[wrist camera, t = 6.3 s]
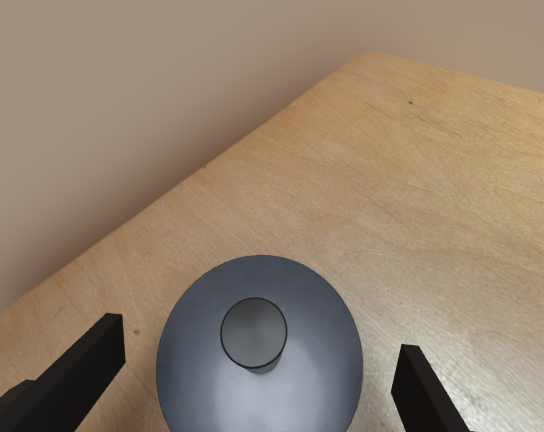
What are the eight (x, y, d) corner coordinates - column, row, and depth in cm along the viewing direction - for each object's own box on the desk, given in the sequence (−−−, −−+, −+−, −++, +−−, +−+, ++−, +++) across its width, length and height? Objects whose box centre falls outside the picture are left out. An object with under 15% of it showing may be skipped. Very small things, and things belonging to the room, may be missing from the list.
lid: (134, 465, 17) (6, 542, 9) (187, 253, 24) (143, 183, 16) (364, 493, 17) (458, 603, 8) (354, 268, 24) (400, 204, 15)
